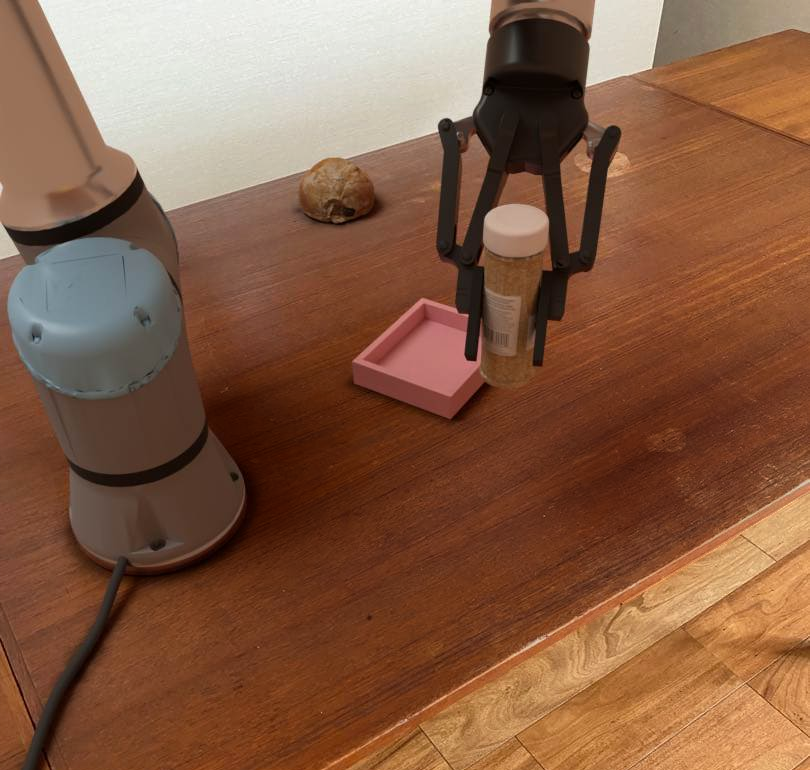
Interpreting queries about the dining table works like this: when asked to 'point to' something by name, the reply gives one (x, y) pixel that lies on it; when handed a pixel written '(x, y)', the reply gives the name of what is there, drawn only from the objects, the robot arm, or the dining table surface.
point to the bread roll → (336, 191)
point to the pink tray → (422, 360)
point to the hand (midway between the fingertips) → (503, 360)
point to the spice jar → (511, 293)
